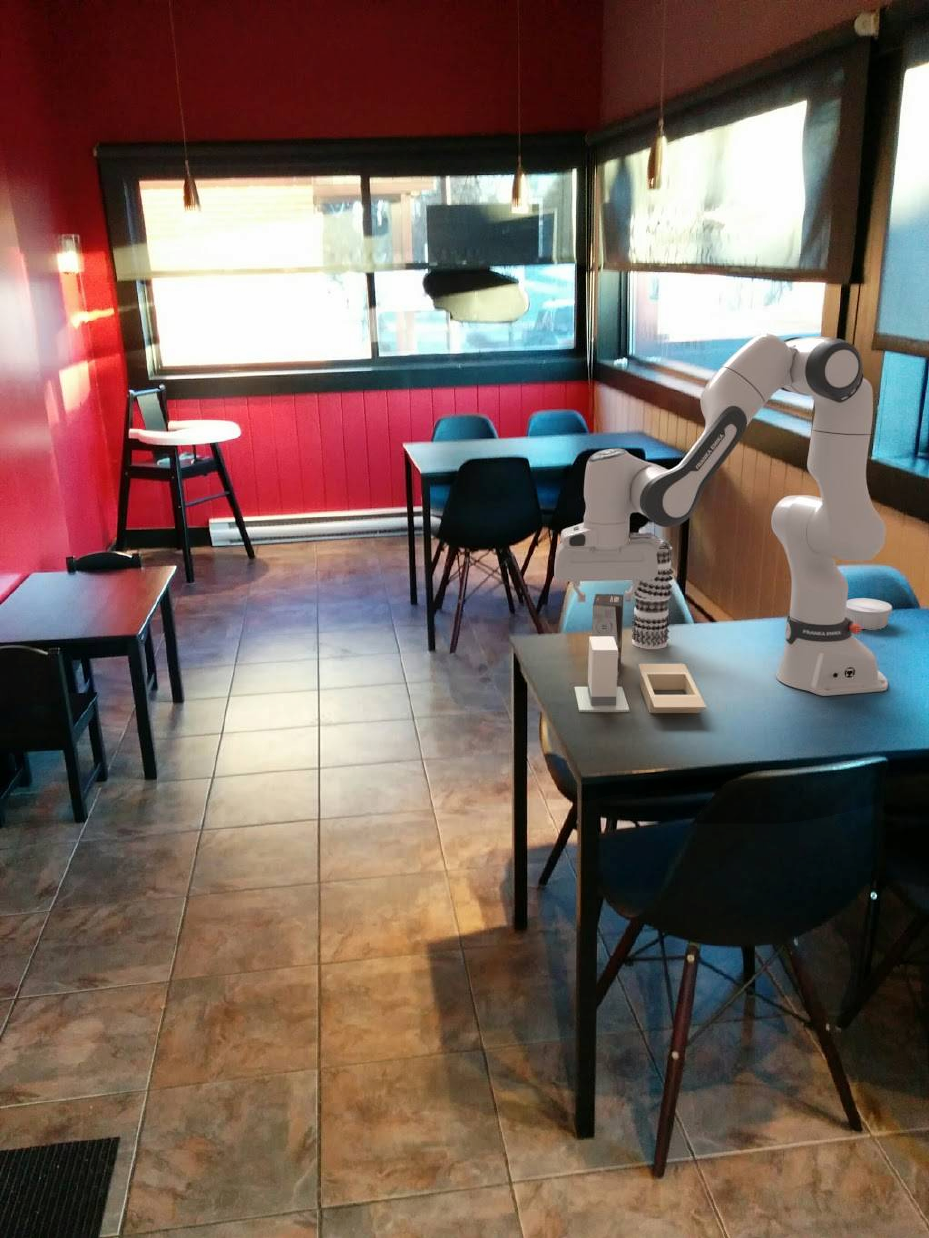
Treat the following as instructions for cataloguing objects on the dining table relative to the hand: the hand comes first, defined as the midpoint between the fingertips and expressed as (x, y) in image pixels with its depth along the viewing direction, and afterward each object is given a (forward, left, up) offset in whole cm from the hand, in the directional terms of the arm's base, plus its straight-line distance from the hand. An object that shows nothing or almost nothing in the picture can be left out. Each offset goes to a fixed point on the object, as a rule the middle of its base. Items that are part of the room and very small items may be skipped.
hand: (605, 601), depth 199 cm
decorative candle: (-15, -34, -22) cm, 43 cm away
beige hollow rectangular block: (-14, 0, -21) cm, 25 cm away
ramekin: (-70, -47, -22) cm, 87 cm away
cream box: (0, 0, -21) cm, 21 cm away
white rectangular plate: (0, 0, -21) cm, 21 cm away
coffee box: (-3, -18, -22) cm, 28 cm away
